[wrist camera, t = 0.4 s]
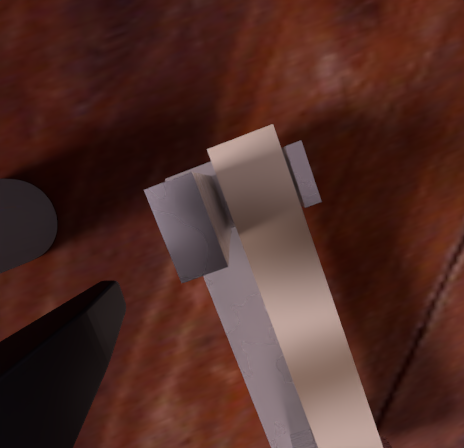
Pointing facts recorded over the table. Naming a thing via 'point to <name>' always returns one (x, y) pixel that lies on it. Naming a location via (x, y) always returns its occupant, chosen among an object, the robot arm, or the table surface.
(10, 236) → the bottle
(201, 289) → the table surface
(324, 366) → the rail
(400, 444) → the table surface
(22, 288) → the table surface
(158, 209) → the standards
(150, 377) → the table surface
